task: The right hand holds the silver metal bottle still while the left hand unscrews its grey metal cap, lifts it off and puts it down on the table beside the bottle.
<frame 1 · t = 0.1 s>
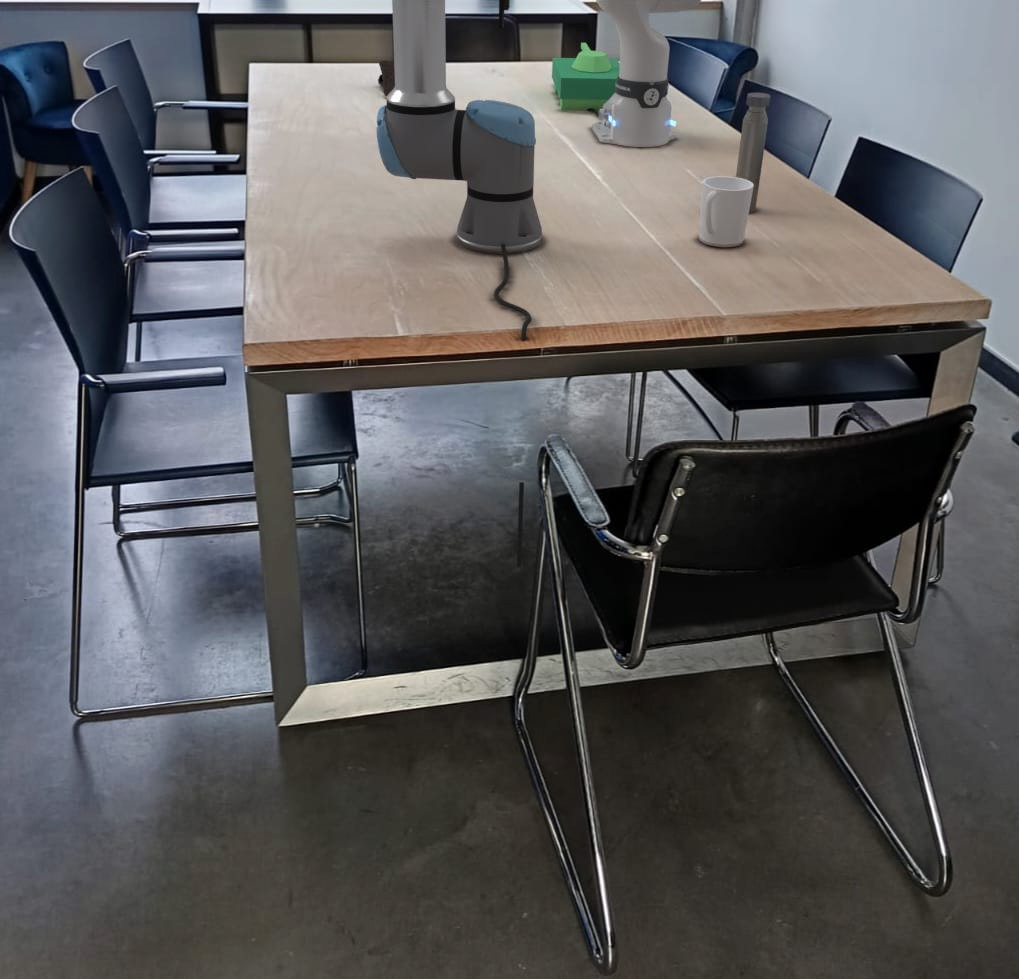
left hand: (468, 26, 224), 28 cm above the table, tool pointing down, fingers open, 13 cm apart
toy tank: (586, 98, 297), on the table
bottle: (743, 209, 215), on the table
axe head: (403, 91, 300), on the table
mug: (717, 242, 197), on the table
cap: (758, 96, 203), point 21 cm above the table, screwed on, not yet turned
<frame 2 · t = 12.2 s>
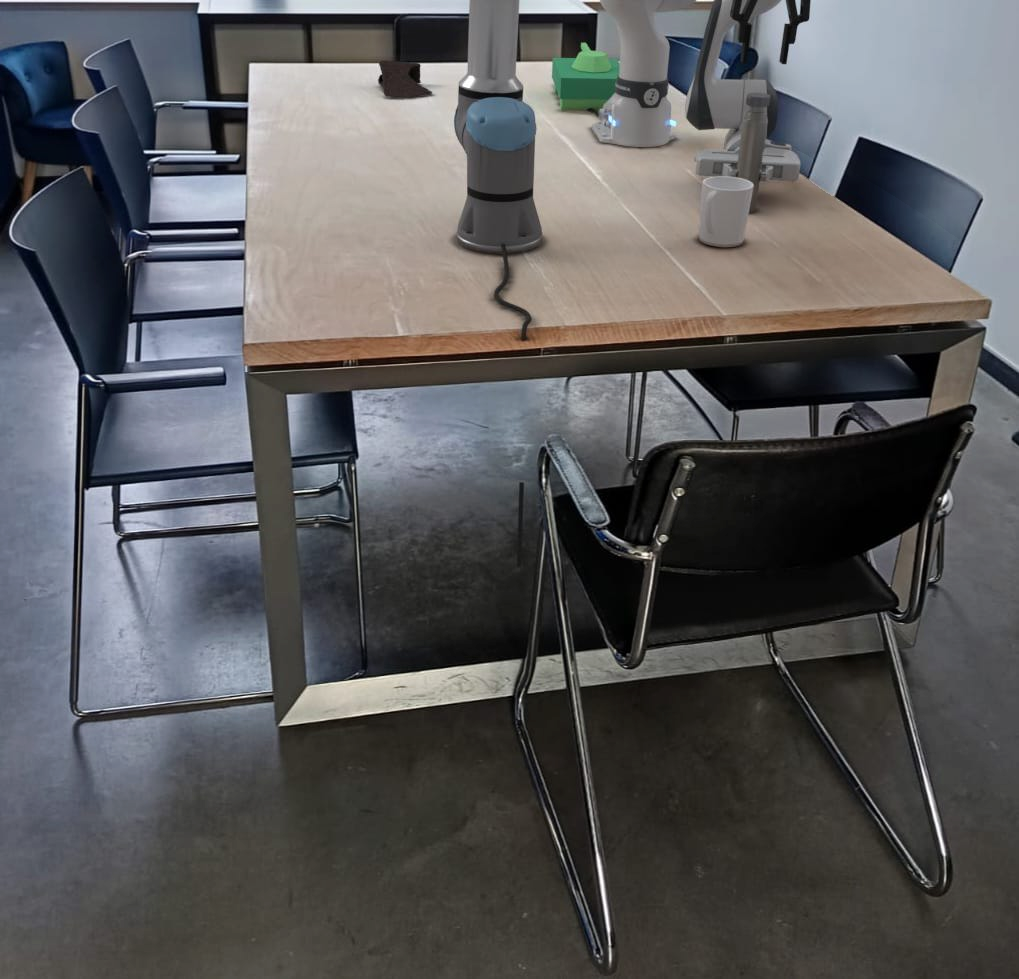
left hand: (763, 62, 200), 27 cm above the table, tool pointing down, fingers open, 6 cm apart
right hand: (748, 176, 210), 7 cm above the table, tool horizontal, fingers closed on bottle, 4 cm apart
bottle: (743, 209, 215), on the table, touching right hand
everything else where it was.
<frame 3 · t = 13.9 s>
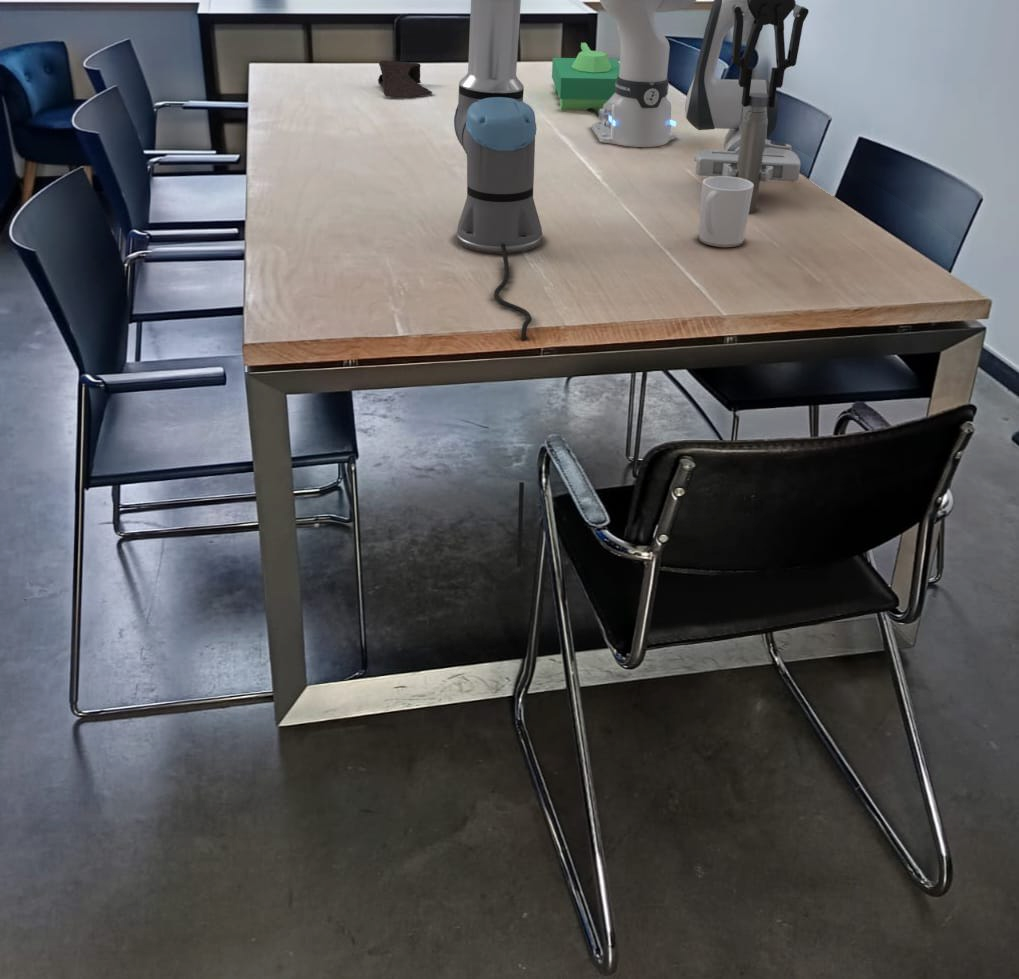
left hand: (757, 105, 204), 20 cm above the table, tool pointing down, fingers closed on cap, 4 cm apart
right hand: (748, 176, 210), 7 cm above the table, tool horizontal, fingers closed on bottle, 4 cm apart
bottle: (743, 209, 215), on the table, touching right hand
cap: (758, 96, 203), point 21 cm above the table, screwed on, not yet turned, touching left hand
everything else where it was.
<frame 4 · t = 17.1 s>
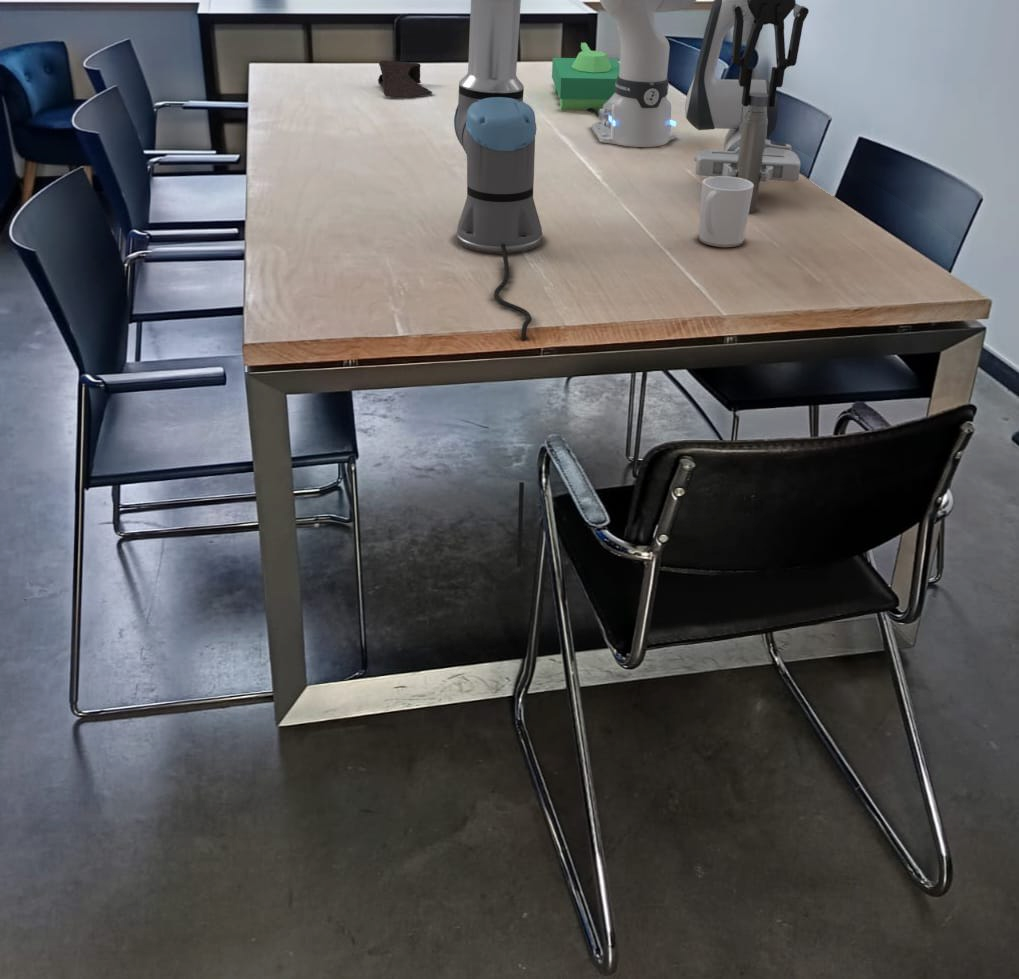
left hand: (757, 104, 204), 20 cm above the table, tool pointing down, fingers closed on cap, 4 cm apart
right hand: (748, 176, 210), 7 cm above the table, tool horizontal, fingers closed on bottle, 4 cm apart
bottle: (743, 209, 215), on the table, touching right hand
cap: (758, 96, 203), point 21 cm above the table, turned 87° so far, risen 0.1 cm, still on its thread, touching left hand
everything else where it was.
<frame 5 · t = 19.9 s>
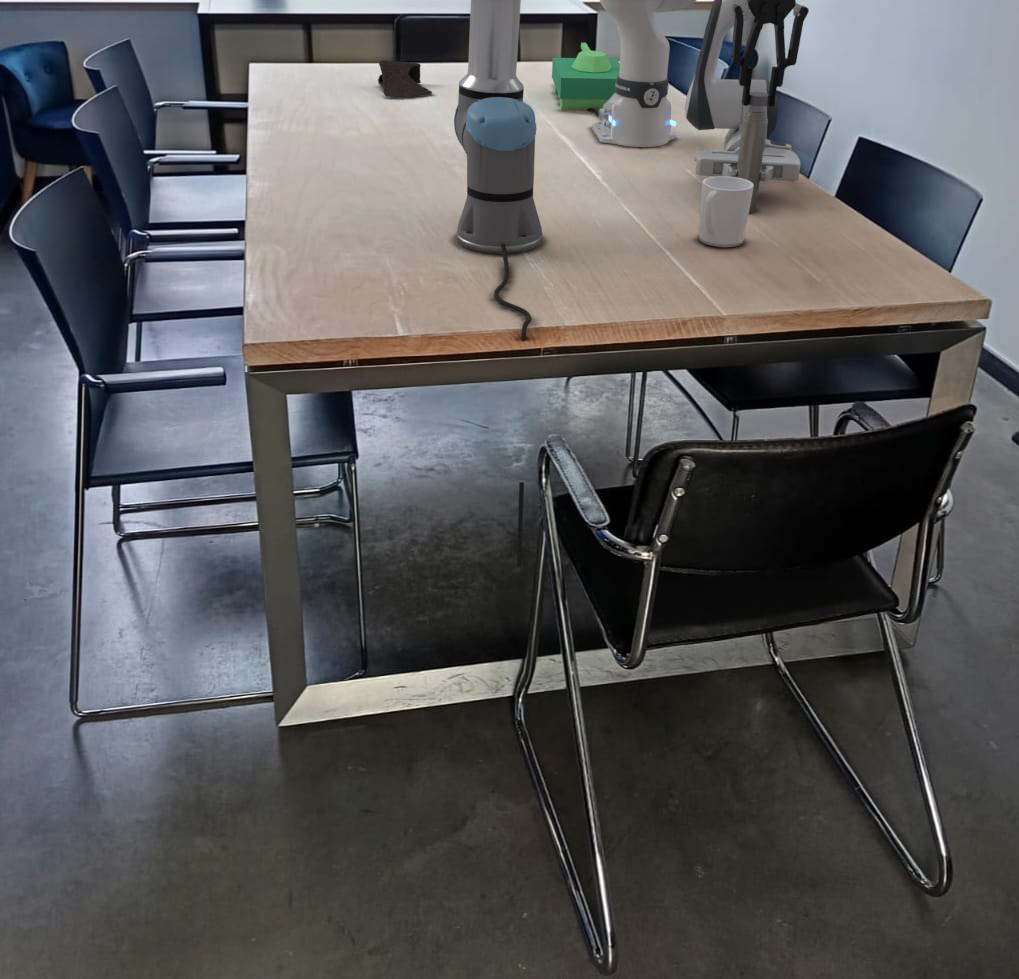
left hand: (757, 104, 204), 20 cm above the table, tool pointing down, fingers closed on cap, 4 cm apart
right hand: (748, 176, 210), 7 cm above the table, tool horizontal, fingers closed on bottle, 4 cm apart
bottle: (743, 209, 215), on the table, touching right hand
cap: (758, 95, 203), point 21 cm above the table, turned 174° so far, risen 0.2 cm, still on its thread, touching left hand
everything else where it was.
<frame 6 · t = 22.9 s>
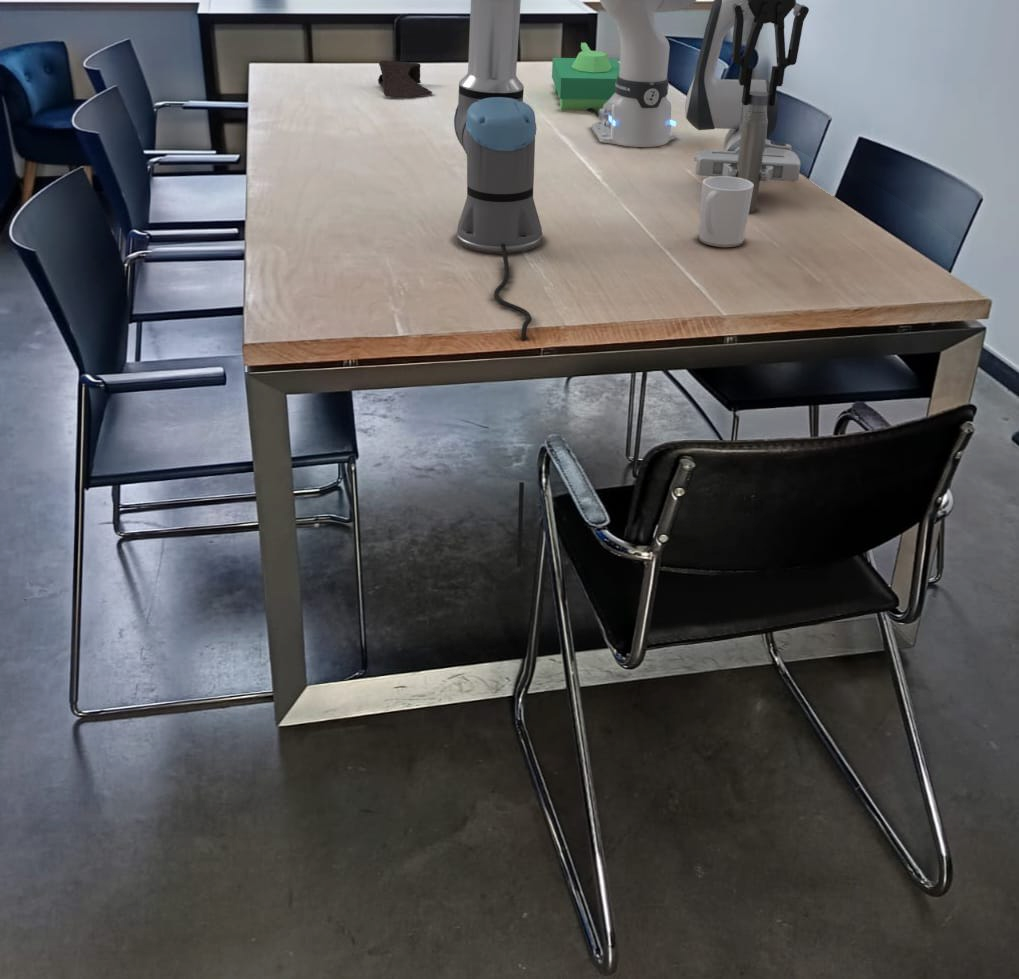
left hand: (757, 103, 204), 20 cm above the table, tool pointing down, fingers closed on cap, 4 cm apart
right hand: (748, 176, 210), 7 cm above the table, tool horizontal, fingers closed on bottle, 4 cm apart
bottle: (743, 209, 215), on the table, touching right hand
cap: (758, 95, 203), point 22 cm above the table, turned 260° so far, risen 0.2 cm, still on its thread, touching left hand
everything else where it was.
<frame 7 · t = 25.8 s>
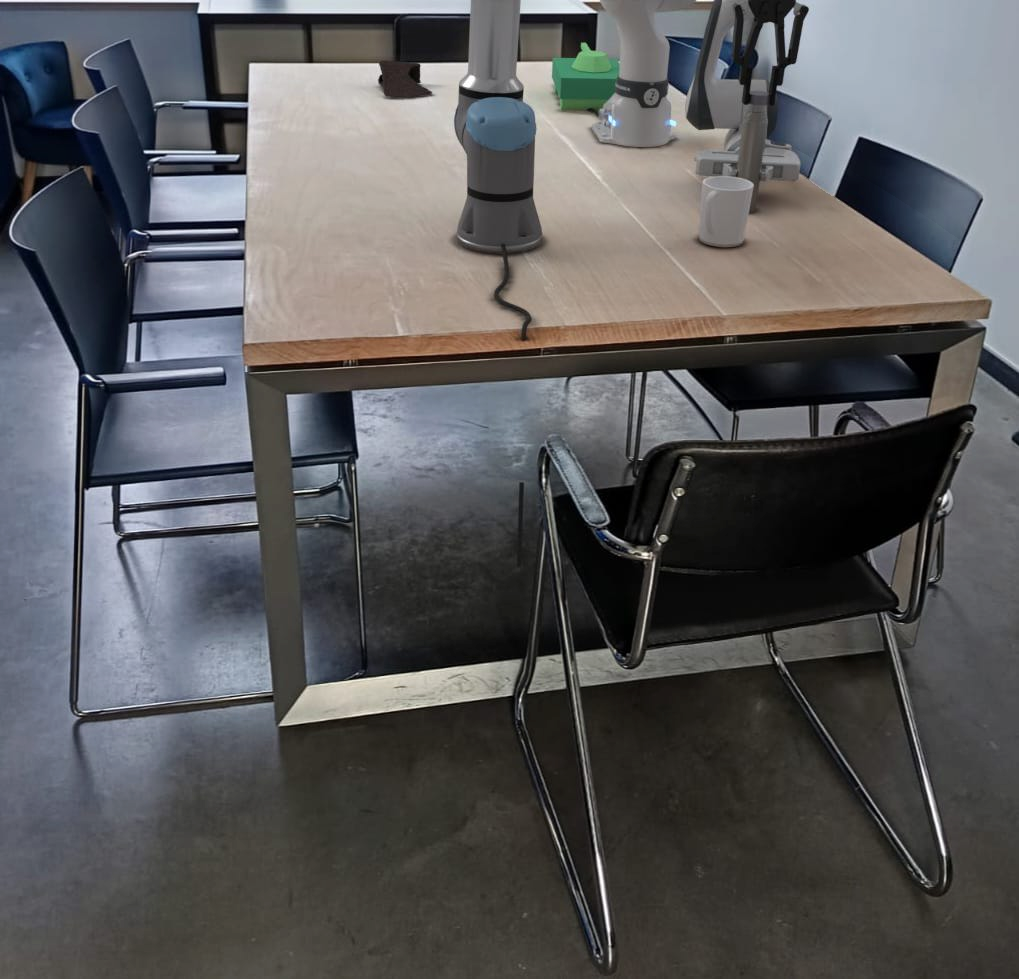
left hand: (757, 103, 204), 20 cm above the table, tool pointing down, fingers closed on cap, 4 cm apart
right hand: (748, 176, 210), 7 cm above the table, tool horizontal, fingers closed on bottle, 4 cm apart
bottle: (743, 209, 215), on the table, touching right hand
cap: (758, 94, 203), point 22 cm above the table, turned 347° so far, risen 0.3 cm, still on its thread, touching left hand
everything else where it was.
when the left hand's fingers open (1 cm above the table, at t = 35.6 s): cap drops 1 cm, point 1 cm above the table.
when the right hand's fingers open (7 cm above the table, at t = 36.8 s): bottle stays where it is, on the table.
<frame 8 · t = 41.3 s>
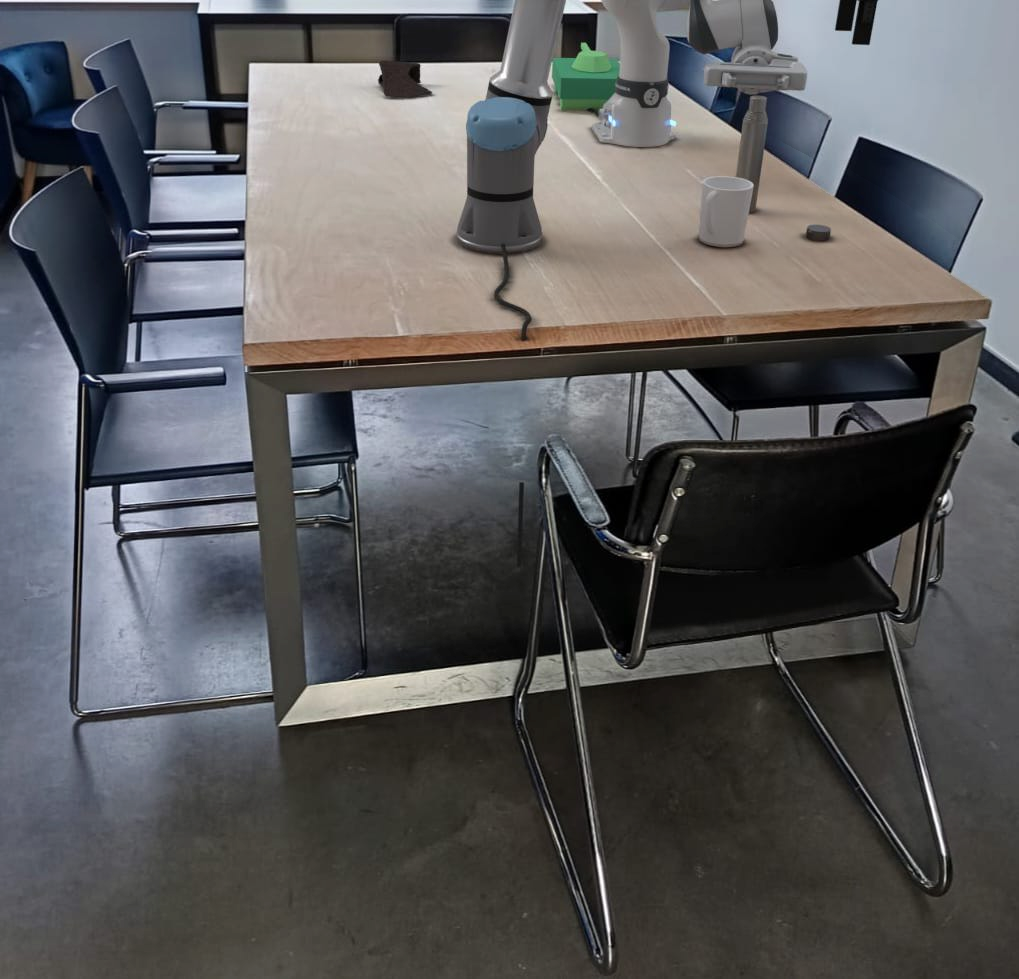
left hand: (851, 37, 183), 34 cm above the table, tool pointing down, fingers open, 13 cm apart
right hand: (756, 84, 214), 21 cm above the table, tool horizontal, fingers open, 8 cm apart
bottle: (743, 209, 215), on the table
cap: (818, 229, 200), point 1 cm above the table, off its thread
everything else where it was.
at the end: cap came off its thread; cap point 1.5 cm above the table; the left hand is holding nothing; the right hand is holding nothing; bottle tilted 0°; bottle moved 0.0 cm from its start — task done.
